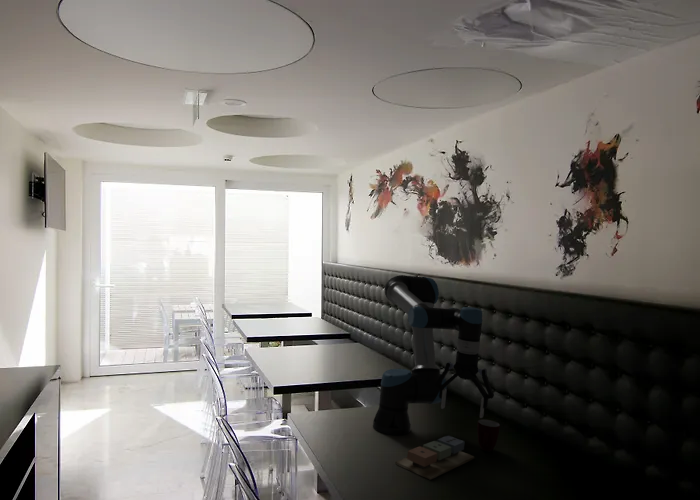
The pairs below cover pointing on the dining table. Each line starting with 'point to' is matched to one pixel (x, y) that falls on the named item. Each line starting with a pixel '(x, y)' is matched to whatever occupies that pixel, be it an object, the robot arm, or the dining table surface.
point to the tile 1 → (422, 456)
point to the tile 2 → (438, 449)
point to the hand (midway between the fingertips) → (461, 412)
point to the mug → (487, 434)
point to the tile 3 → (452, 443)
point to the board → (436, 465)
